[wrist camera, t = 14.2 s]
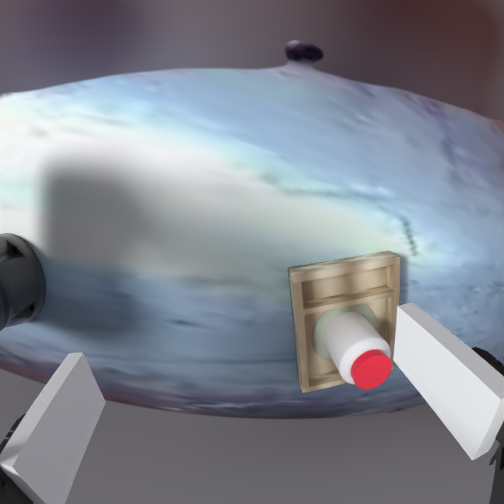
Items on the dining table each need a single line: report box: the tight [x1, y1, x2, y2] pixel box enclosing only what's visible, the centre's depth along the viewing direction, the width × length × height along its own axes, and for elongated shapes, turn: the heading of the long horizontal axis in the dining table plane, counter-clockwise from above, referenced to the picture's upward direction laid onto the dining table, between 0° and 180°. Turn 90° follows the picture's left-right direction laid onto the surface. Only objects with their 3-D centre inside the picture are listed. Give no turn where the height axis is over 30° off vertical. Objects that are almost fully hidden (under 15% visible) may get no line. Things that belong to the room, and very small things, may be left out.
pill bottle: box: [323, 312, 392, 389], centre depth 42 cm, size 8×8×11 cm
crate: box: [288, 251, 400, 393], centre depth 46 cm, size 16×20×4 cm
